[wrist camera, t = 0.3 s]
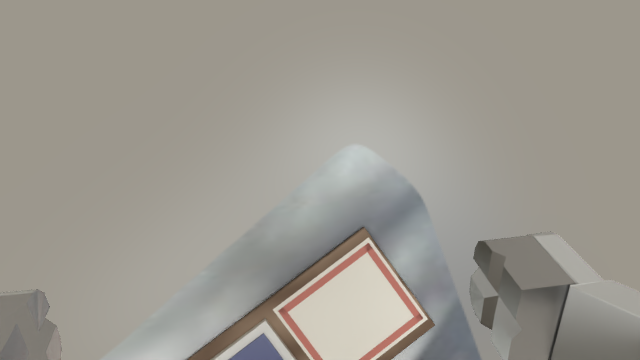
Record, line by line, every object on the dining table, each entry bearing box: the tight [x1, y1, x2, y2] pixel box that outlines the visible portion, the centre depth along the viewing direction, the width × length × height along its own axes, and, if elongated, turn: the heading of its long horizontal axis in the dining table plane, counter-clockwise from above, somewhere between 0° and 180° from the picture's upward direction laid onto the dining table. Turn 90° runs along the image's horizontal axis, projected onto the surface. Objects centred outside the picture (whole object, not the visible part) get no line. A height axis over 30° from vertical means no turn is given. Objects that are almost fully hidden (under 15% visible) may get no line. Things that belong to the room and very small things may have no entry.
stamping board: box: [187, 227, 435, 360], centre depth 63 cm, size 15×30×1 cm, turn 126°
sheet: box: [273, 237, 427, 360], centre depth 63 cm, size 13×14×1 cm
